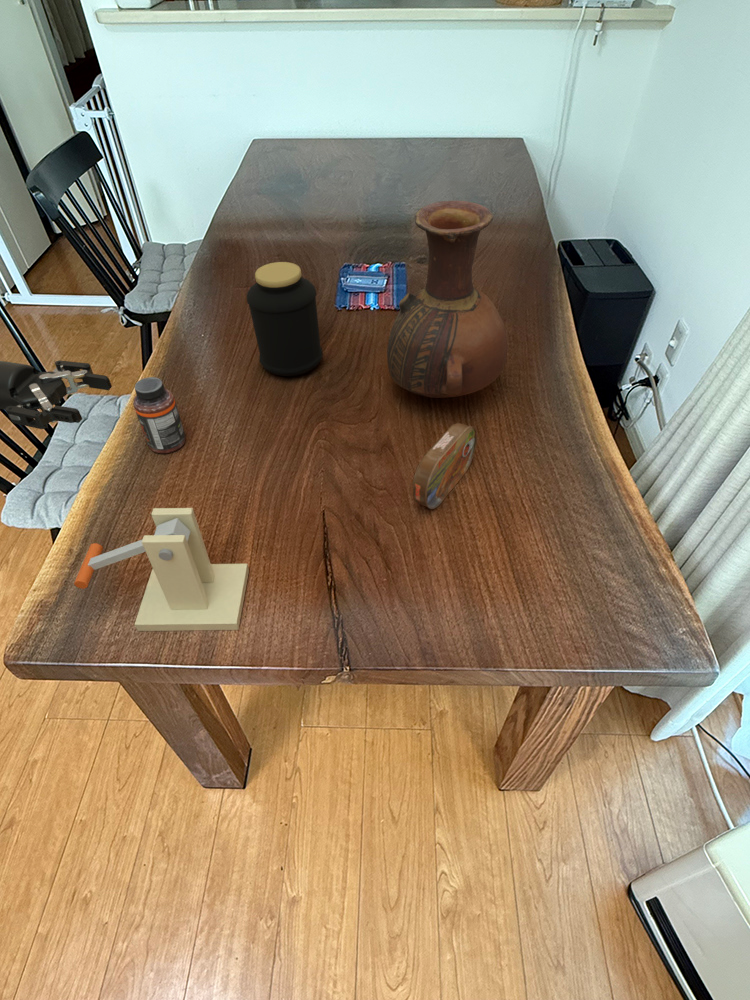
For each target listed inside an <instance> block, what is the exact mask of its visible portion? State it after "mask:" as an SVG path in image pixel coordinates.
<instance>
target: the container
mask: <svg viewBox="0 0 750 1000" xmlns="http://www.w3.org/2000/svg"><path fill="white" fill-rule="evenodd" d="M302 275H303V274H302V269H301V267H300V266H299V265H298V264H295V263H293V262H288V261H275V262H270V263H267V264H264V265H262V266H260V267H259V268H257V269H256V270H255V273H254V279H255V283H254V284H252V285H251V286H250V287H249V289H248V291H247V293H246V303H247V304H248V306H249V312H250V314H251V320H252V324H253V329H254V334H255V338H256V342H257V347H258V351H259V352H258V353H259V356H258V358H259V363H260V365H261V366H262V368H263V369H264V370H266V371H267V372H269V373H271V375H276V376H281V377H295V376H300V375H304V374H307V373H309V372H310V371H312V370H314V369H315V368H316V367H317V366H318V365H319V364H320V363H321V361H322V358H323V355H324V353H323V352H324V351H323V348H322V346H321V340H320V330H319V329H320V327H319V319H318V307H317V299H316V296H317V290H316V286H315V285H314V284H313V283H312V282H311V281H310V280H309V279H307V278H306V277H305V278H304V277H302Z"/></svg>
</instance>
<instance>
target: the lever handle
mask: <svg viewBox="0 0 750 1000" xmlns="http://www.w3.org/2000/svg"><path fill="white" fill-rule="evenodd" d="M190 532H191V531H190V530H189V529H188V528H187V527H186V526H185V525H184V524H183V523H182V522H181V521H180V520H179V519H178V518H176V519H173V520H171V521H168V522H165V523H163V524H160V525H158V526H157V528H155V531H154V534H153V535H185V537H186V540H187V542H188V539H189V535H190ZM103 550H104V547H103V546H102V545H101V544H99V543H96V542H95V543H94V542H93V543H91V544H90V545H89V547H88V549H87V552H86V555H85V557H84V559H83V562H82V563H81V566H80V568H79V571H78V573H77V575H76V578H75V580H74V583H73V585H74V586H75V587H76V588H77V589H87V588H88V586H89V585H90V582H91V579H92V577H93V574H94V572H95V571H96V570H99V569H101V568H104V567H107V566H109V565H113V564H115V563H118V562H121V561H123V560H126V559H129V558H132V557H135V556H137V555H141V554H143V553H146V551H145V549H144V547H143V544H142V539H140V540H139V539H138V540H137V541H133V542H131V543H129V544H126V545H123V546H120V547H118V548H115V549H113V550H110V551H107V552H104V553H102V552H103Z"/></svg>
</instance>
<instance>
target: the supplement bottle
mask: <svg viewBox="0 0 750 1000" xmlns="http://www.w3.org/2000/svg"><path fill="white" fill-rule="evenodd" d="M134 391H135V394H136V395H135V396H134V398H133V402H132V405H133V408H134V411H135V414H136V416H137V419H138V422H139V426H140V427H141V430H142V433H143V436H144V438H145V441H146V444H147V446H148V448H149V449H150V450H151V451H152V452H154V453H156V454H170V453H173V452H175V451H178V450H180V449H181V448H182V447H183V446H184V444H185V443H186V439H187V437H186V432H185V430H184V425H183V422H182V420H181V416H180V412H179V409H178V405H177V402H176V399H175V396H174V394H173V392H172V391H171V390H169V389H167V388H166V387H165V386H164V383H163V380H162V379H161V378H158V377H155V376H149V377H144V378H141V379H140V380H138V381H137V382H136V383H135V384H134Z"/></svg>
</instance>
